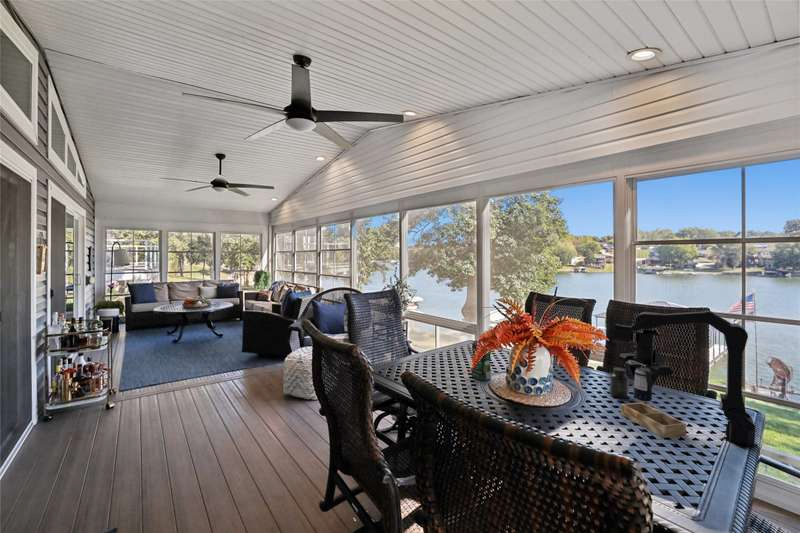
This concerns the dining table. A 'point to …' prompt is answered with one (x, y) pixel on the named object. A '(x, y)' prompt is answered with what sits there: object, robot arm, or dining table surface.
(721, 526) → the dining table surface
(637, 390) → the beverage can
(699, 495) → the dining table surface
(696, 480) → the dining table surface
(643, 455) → the dining table surface
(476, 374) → the coffee jar
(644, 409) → the caddy
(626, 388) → the supplement bottle
